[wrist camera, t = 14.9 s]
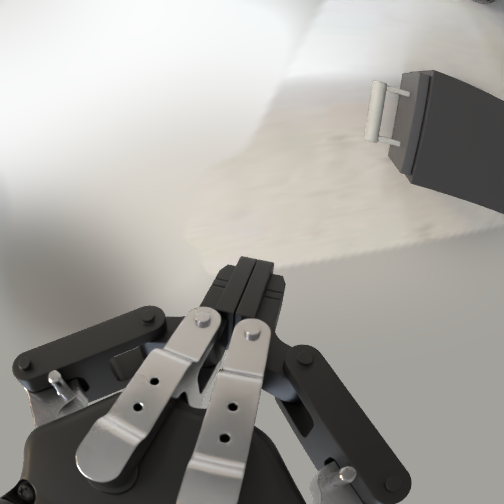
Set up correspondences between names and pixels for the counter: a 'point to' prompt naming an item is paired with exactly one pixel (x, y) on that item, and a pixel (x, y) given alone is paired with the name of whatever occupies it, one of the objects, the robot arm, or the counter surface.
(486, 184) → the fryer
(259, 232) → the counter surface
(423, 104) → the dark grey drawer
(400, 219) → the counter surface
